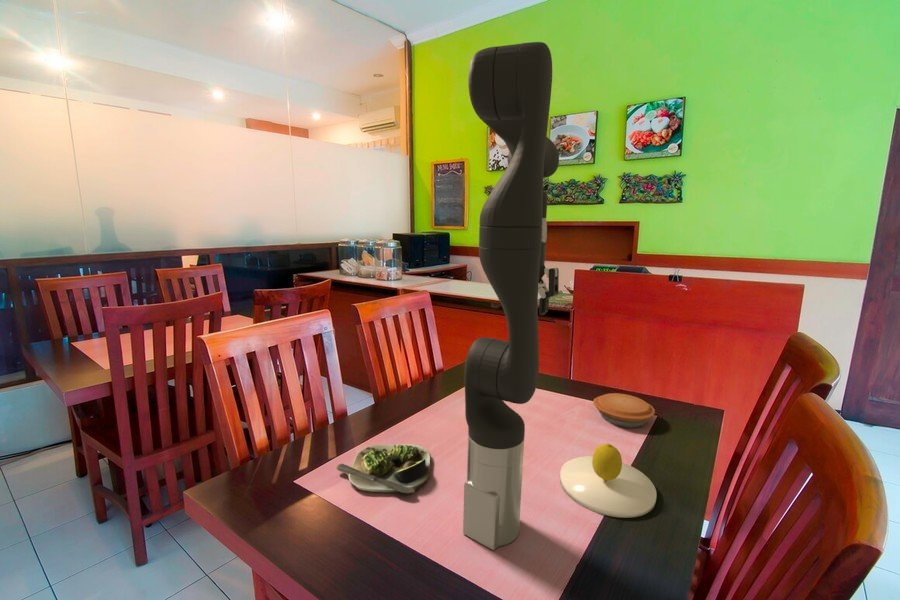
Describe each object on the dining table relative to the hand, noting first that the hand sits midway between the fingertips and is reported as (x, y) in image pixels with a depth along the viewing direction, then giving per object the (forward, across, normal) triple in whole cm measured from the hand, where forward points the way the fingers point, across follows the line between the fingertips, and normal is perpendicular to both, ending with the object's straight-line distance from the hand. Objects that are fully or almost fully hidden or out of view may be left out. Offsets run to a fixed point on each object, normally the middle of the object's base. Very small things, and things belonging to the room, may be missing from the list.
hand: (524, 311), depth 94 cm
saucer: (+32, +22, -4) cm, 39 cm away
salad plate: (+33, -15, -27) cm, 45 cm away
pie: (+32, +16, +30) cm, 47 cm away
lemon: (+31, +22, -4) cm, 38 cm away
